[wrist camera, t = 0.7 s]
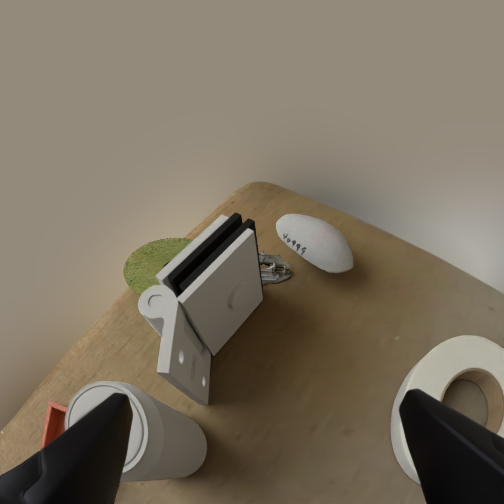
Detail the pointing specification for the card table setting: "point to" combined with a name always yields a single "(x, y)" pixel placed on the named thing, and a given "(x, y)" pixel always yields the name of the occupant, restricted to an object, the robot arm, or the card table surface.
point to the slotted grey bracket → (273, 268)
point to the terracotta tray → (53, 423)
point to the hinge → (203, 301)
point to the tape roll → (440, 377)
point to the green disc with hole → (151, 262)
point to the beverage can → (148, 433)
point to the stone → (316, 242)
